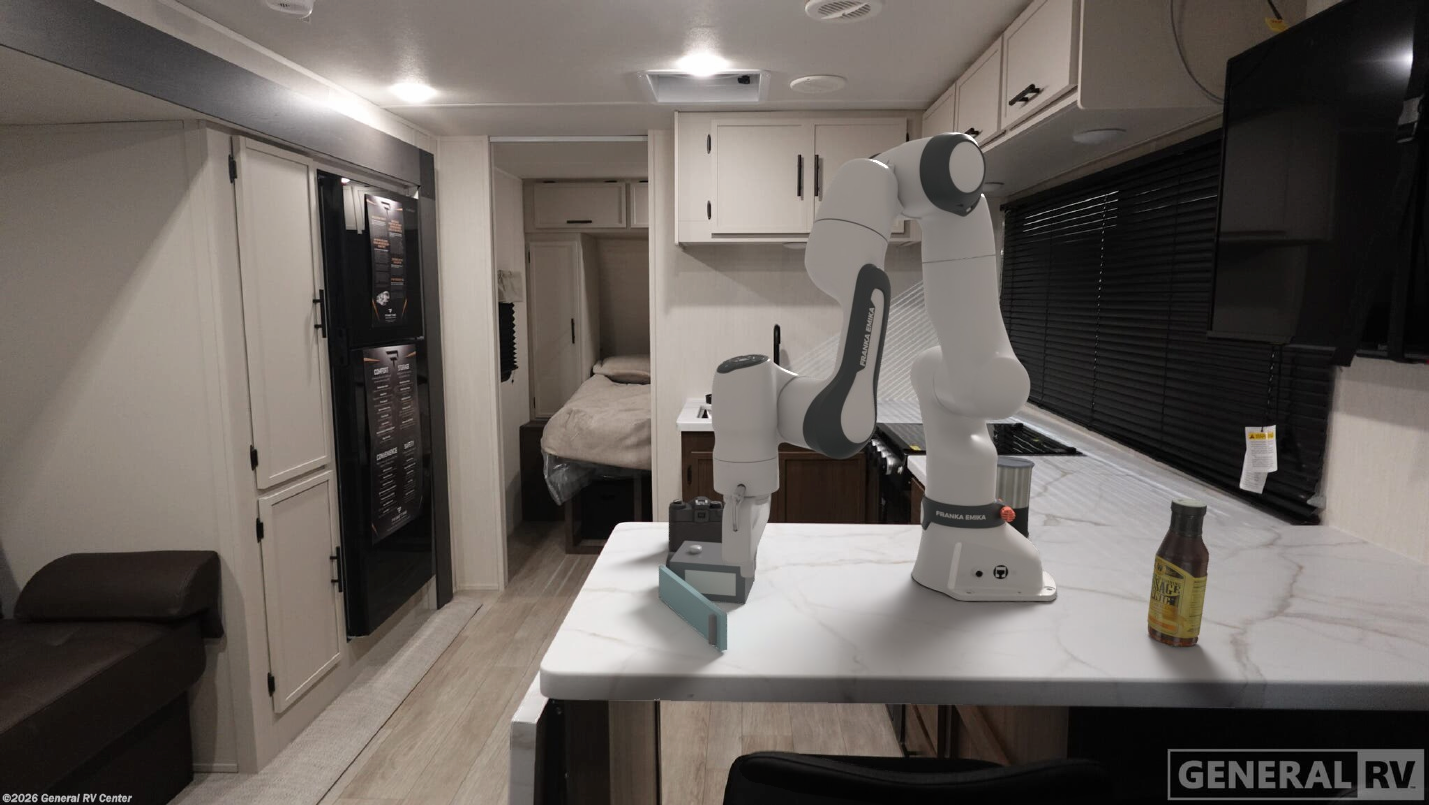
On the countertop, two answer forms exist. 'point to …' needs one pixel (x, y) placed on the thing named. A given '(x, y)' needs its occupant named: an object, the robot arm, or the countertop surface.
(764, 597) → the countertop surface
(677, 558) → the camera housing
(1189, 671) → the countertop surface
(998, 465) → the milk frother
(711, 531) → the camera
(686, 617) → the side door
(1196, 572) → the sauce bottle
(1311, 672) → the countertop surface
